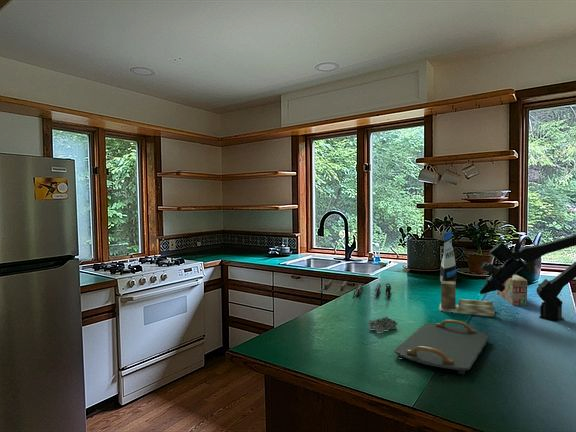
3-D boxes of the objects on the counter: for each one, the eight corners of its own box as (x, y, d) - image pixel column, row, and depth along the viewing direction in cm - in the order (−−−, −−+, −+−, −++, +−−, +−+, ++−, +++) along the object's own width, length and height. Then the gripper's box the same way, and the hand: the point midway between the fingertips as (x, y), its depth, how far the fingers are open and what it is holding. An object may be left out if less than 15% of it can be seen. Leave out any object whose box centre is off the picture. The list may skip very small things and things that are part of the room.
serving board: (427, 327, 149) (427, 312, 149) (492, 340, 135) (492, 323, 134) (388, 362, 118) (388, 343, 118) (467, 383, 104) (467, 361, 104)
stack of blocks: (496, 294, 196) (496, 270, 195) (510, 294, 195) (510, 271, 194) (512, 305, 175) (512, 279, 174) (527, 306, 174) (527, 279, 173)
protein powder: (435, 283, 222) (435, 233, 221) (444, 276, 242) (443, 230, 241) (453, 285, 217) (452, 234, 215) (459, 277, 237) (459, 230, 236)
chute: (492, 310, 168) (492, 301, 168) (494, 316, 159) (494, 307, 159) (439, 305, 177) (439, 297, 177) (439, 311, 168) (439, 302, 168)
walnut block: (455, 305, 173) (455, 281, 172) (455, 308, 167) (455, 284, 167) (441, 304, 175) (441, 280, 175) (441, 307, 170) (441, 283, 169)
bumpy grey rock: (379, 335, 142) (378, 324, 141) (366, 329, 148) (366, 319, 148) (400, 330, 146) (399, 319, 146) (386, 324, 153) (386, 314, 153)
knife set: (317, 300, 187) (317, 284, 187) (329, 288, 219) (329, 275, 219) (389, 306, 177) (389, 290, 177) (391, 292, 208) (391, 278, 208)
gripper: (491, 253, 171) (465, 275, 176) (495, 259, 154) (466, 284, 159) (511, 270, 168) (484, 293, 173) (517, 279, 151) (487, 304, 156)
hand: (480, 293), depth 166 cm, fingers closed
